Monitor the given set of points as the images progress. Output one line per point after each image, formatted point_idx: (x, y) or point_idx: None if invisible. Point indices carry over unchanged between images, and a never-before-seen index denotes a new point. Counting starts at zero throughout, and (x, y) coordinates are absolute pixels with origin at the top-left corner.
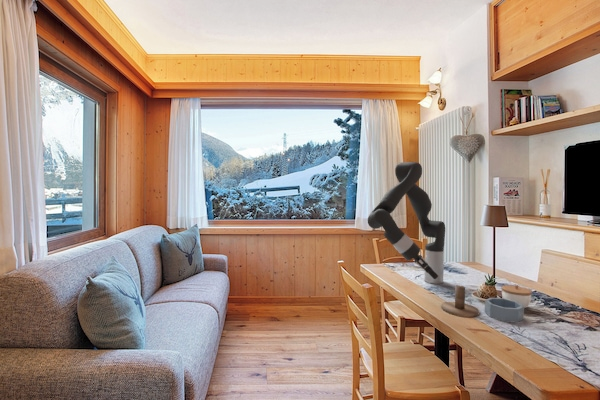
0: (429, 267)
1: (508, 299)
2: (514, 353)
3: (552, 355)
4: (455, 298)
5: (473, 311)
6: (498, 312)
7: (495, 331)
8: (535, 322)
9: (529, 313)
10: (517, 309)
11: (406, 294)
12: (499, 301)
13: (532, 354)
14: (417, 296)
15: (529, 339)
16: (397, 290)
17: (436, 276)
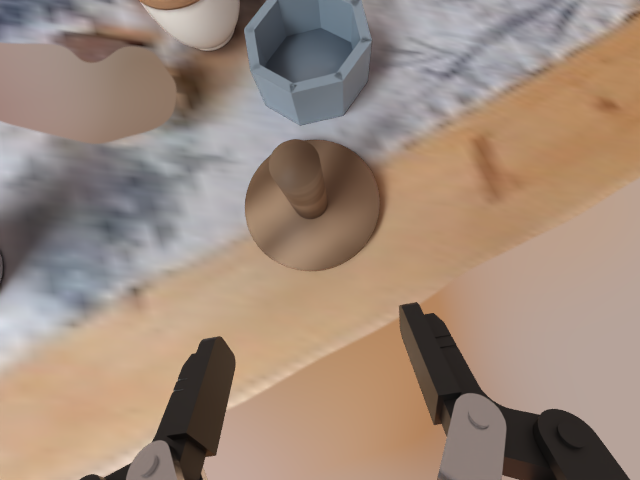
0: (618, 478)
1: (222, 21)
2: (630, 94)
3: (583, 10)
4: (310, 207)
5: (334, 158)
6: (359, 76)
7: (474, 118)
8: None
9: None
10: (361, 4)
11: None
12: (259, 52)
13: (607, 52)
14: None
15: (492, 41)
16: None
17: (435, 320)
